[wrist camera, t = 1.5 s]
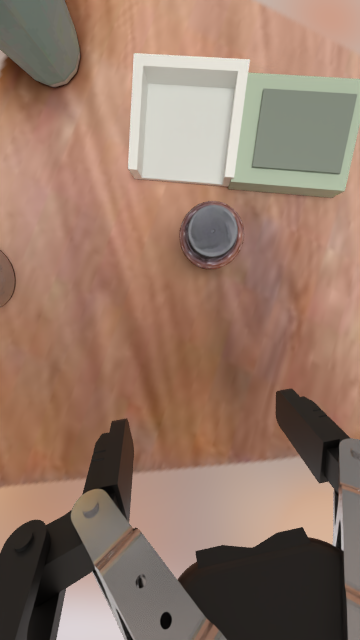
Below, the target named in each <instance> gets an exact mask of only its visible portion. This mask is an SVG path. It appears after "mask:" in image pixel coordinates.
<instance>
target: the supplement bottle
mask: <svg viewBox="0 0 360 640" xmlns="http://www.w3.org/2000/svg"><path fill="white" fill-rule="evenodd" d="M243 240H244V228H243V223H242V221H241V218H240V217H239V215H238V214H237V212H236V211H235V210H234V209H233V208H231V207H230V206H228V205H227V204H225V203H222V202H216V201H208V202H203V203H201V204H198V205H197V206H195V207H194V208H193V209H191V210H190V211H189V212H188V214H187V215H186V216H185V218H184V219H183V222H182V225H181V228H180V244H181V248H182V250H183V252H184V254H185V256H186V257H187V258H188V259H189V260H190V261H191V262H192V263H193V264H195V265H196V266H198V267H201V268H204V269H216V268H220V267H223V266H225V265H227V264H228V263H230V262H231V261H232V260H233V259H234V258H235V257H236V256H237V254H238V253H239V251H240V249H241V247H242V244H243Z"/></svg>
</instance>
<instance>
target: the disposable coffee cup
mask: <svg viewBox="0 0 360 640" xmlns="http://www.w3.org/2000/svg"><path fill="white" fill-rule="evenodd" d="M0 50H1V51H3V52H4V53H5V54H6V55H7V56H8V57H9V58H11V59H12V60H13V61H14V62H15V63H16V64H17V65H19V66H20V67H21V68H22V69H23V70H24V71H25V72H27V73H28V74H29V75H30V76H31V77H32V78H33V79H35V80H36V81H39V82H41V83H43V84H46V85H49V86H52V87H57V86H61V85H64V84H67V83H68V82H69V81H70V80H71V78H72V77H73V76H74V75H75V74H76V73H77V69H78V65H79V60H80V52H79V51H80V49H79V44H78V39H77V34H76V30H75V27H74V25H73V22H72V19H71V17H70V14H69V11H68V8H67V6H66V3H65V0H0Z"/></svg>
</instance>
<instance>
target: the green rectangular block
mask: <svg viewBox="0 0 360 640" xmlns="http://www.w3.org/2000/svg"><path fill="white" fill-rule="evenodd" d="M359 124H360V79H351V78H333V77H316V76H298V75H280V74H263V73H248V77H247V85H246V92H245V100H244V107H243V115H242V122H241V130H240V137H239V145H238V152H237V160H236V167H235V175H234V179H231V181H230V184H229V187H228V189H234V190H246V191H258V192H270V193H282V194H294V195H306V196H318V197H330V198H333V197H335V196H336V195H338V194H340V193H342V192H344V191H345V188H346V183H347V179H348V174H349V170H350V165H351V161H352V156H353V152H354V147H355V143H356V138H357V133H358V129H359Z"/></svg>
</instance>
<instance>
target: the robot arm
mask: <svg viewBox="0 0 360 640" xmlns="http://www.w3.org/2000/svg"><path fill="white" fill-rule="evenodd" d="M14 285H15V278H14V272H13V269H12V266H11V264H10V262H9V260H8V259H7V257H6V256H5V255H4V254H3V253H2V252H1V251H0V307H1V306H3V305H4V304H6V302H7V301H8V300H9V299H10V297H11V296H12V294H13V290H14ZM276 419H277V422H278V424H279V426H280V428H281V429H282V431H283V432H284V433H285V435H286V436H287V438H288V439H289V441H290V442H291V443H292V445H293V446H294V448H295V449H296V451H297V452H298V453H299V455H300V456H301V458H302V459H303V460H304V462H305V464H306V465H307V466H308V468H309V469H310V470H311V472H312V474H313V475H314V476H315V478H316V479H317V481H318V482H319V483H324V482H328V481H329V483H330V484H331V485H332V487H333V488H334V493H333V494H334V496H333V498H334V499H333V501H334V503H333V506H334V507H333V513H334V514H333V515H334V516H333V518H334V519H333V527H334V528H333V545H331V544H329V543H327V542H324V541H321V540H318V539H314V538H308V537H307V535H306V533H305V531H304V529H303V528H302V527H301V528H297V529H292V530H288V531H283V532H279V533H276V534H274V535H273V536H271V537H270V538H268V539H267V540H265V541H264V542H262V543H260V544H259V545H257V546H255V547H253V548H246V547H236V546H235V547H234V546H225V545H221V546H217V547H213V548H209V549H204V550H199V551H196V558H197V562H196V563H194V564H192V565H191V566H190V567H189V568H187V569H186V570H185V571H184V573H182V575H181V576H180V577H179V578H178V580H177V579H176V578H175V577H174V575H173V574H172V572H171V571H170V570H169V568H168V567H167V566H166V564H165V563H164V562H163V560H162V559H161V558H160V557H159V555H158V554H157V552H156V551H155V550H154V548H153V547H152V546H151V544H150V543H149V542H148V541H147V539H146V538H145V536H144V535H143V534H142V533H141V531H140V530H139V529H138V528H135V529H133V528H132V526H131V525H130V524H129V516H130V502H131V488H132V473H133V459H134V447H133V440H132V436H131V432H130V428H129V423H128V420H127V419H121V420H116V421H112V423H111V428H110V433H104V434H102V435H101V436H100V438H99V439H98V441H97V442H96V444H95V448H94V452H93V456H92V460H91V464H90V467H89V471H88V475H87V479H86V483H85V487H84V491H83V494H82V496H81V497H80V498H79V499H78V500H77V501H76V503H75V504H74V506H73V508H72V510H71V511H70V512H68V513H67V514H66V515H64V516H62V517H61V518H59V519H57V520H55V521H53V522H51V523H49V524H47V525H45V523H44V522H43V521H41V520H32V521H29V522H27V523H25V524H23V525H22V526H20V527H19V528H17V529H16V530H15V531H14V532H13V533H12V535H10V537H9V538H8V539H7V541H6V542H5V544H4V546H3V548H2V550H1V553H0V640H56V637H57V632H58V627H59V622H60V616H61V611H62V606H63V601H64V596H65V591H66V588H67V587H68V586H70V585H72V584H73V583H75V582H77V581H78V580H80V579H81V578H83V577H84V576H86V575H88V574H89V573H91V572H92V573H93V575H94V577H95V579H96V581H97V583H98V584H99V587H100V589H101V591H102V593H103V595H104V597H105V599H106V601H107V602H108V605H109V607H110V609H111V611H112V613H113V615H114V617H115V619H116V621H117V624H118V626H119V628H120V630H121V633H122V635H123V637H124V639H125V640H360V440H358V439H352V438H350V437H349V436H348V435H347V434H346V433H345V432H344V431H343V430H342V429H340V428H339V427H338V426H337V425H336V424H335V423H334V422H333V421H332V420H331V419H330V418H329V417H328V416H327V415H326V414H325V413H324V412H323V411H322V410H321V409H320V408H319V407H318V406H317V405H316V404H315V403H314V402H313V401H311V400H309V399H307V398H306V397H304V396H303V397H299V395H298V394H297V393H296V392H295V391H294V390H293V389H286V390H280V391H277V392H276Z"/></svg>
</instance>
